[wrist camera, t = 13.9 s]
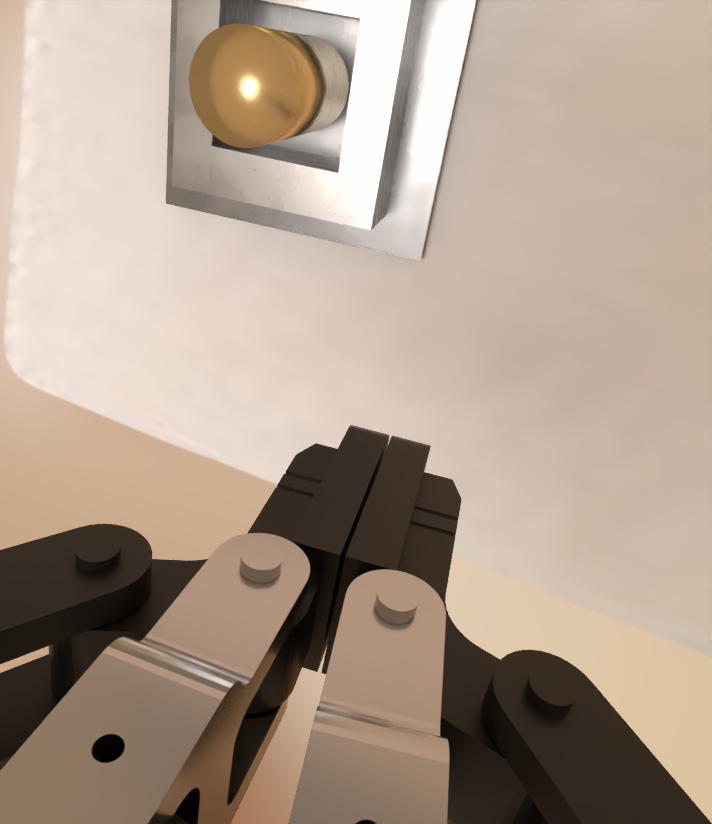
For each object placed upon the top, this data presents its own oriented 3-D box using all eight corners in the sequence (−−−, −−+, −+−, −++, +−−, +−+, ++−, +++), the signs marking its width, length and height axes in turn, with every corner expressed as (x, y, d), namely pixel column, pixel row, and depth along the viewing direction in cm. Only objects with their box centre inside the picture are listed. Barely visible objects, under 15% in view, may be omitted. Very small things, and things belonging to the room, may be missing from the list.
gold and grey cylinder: (355, 43, 33) (301, 34, 25) (341, 139, 35) (288, 157, 27) (269, 28, 34) (191, 14, 26) (261, 122, 36) (186, 136, 28)
